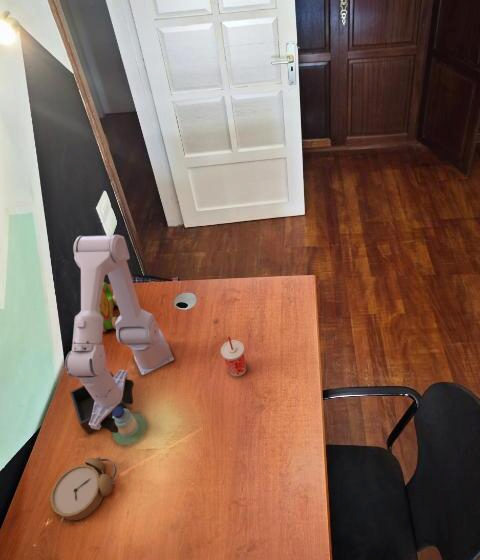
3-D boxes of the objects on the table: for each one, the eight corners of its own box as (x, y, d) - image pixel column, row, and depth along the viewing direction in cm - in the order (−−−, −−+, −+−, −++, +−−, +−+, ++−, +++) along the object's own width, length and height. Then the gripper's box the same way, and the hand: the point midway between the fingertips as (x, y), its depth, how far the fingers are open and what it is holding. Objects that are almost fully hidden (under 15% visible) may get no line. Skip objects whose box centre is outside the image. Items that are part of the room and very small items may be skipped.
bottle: (135, 417, 123) (124, 399, 117) (141, 431, 120) (130, 413, 114) (117, 426, 121) (105, 409, 115) (123, 441, 118) (111, 423, 112)
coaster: (140, 408, 125) (140, 407, 125) (151, 433, 120) (151, 433, 119) (108, 425, 122) (108, 424, 122) (118, 452, 117) (118, 451, 117)
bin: (117, 382, 131) (111, 371, 128) (130, 412, 124) (123, 401, 121) (78, 402, 128) (69, 391, 124) (88, 434, 121) (80, 424, 117)
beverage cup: (222, 375, 130) (212, 343, 120) (232, 357, 134) (223, 325, 124) (243, 381, 128) (234, 349, 118) (252, 363, 132) (245, 331, 122)
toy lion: (104, 302, 154) (86, 268, 143) (121, 299, 154) (104, 264, 144) (101, 340, 143) (81, 306, 132) (120, 336, 143) (101, 302, 132)
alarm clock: (41, 489, 109) (97, 442, 113) (54, 495, 113) (108, 449, 117) (59, 529, 102) (118, 477, 106) (72, 533, 106) (129, 483, 110)
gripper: (101, 356, 113) (121, 388, 122) (68, 411, 103) (92, 441, 113) (128, 361, 111) (146, 392, 121) (97, 417, 101) (118, 446, 111)
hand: (121, 416), depth 116 cm, fingers open, 7 cm apart
